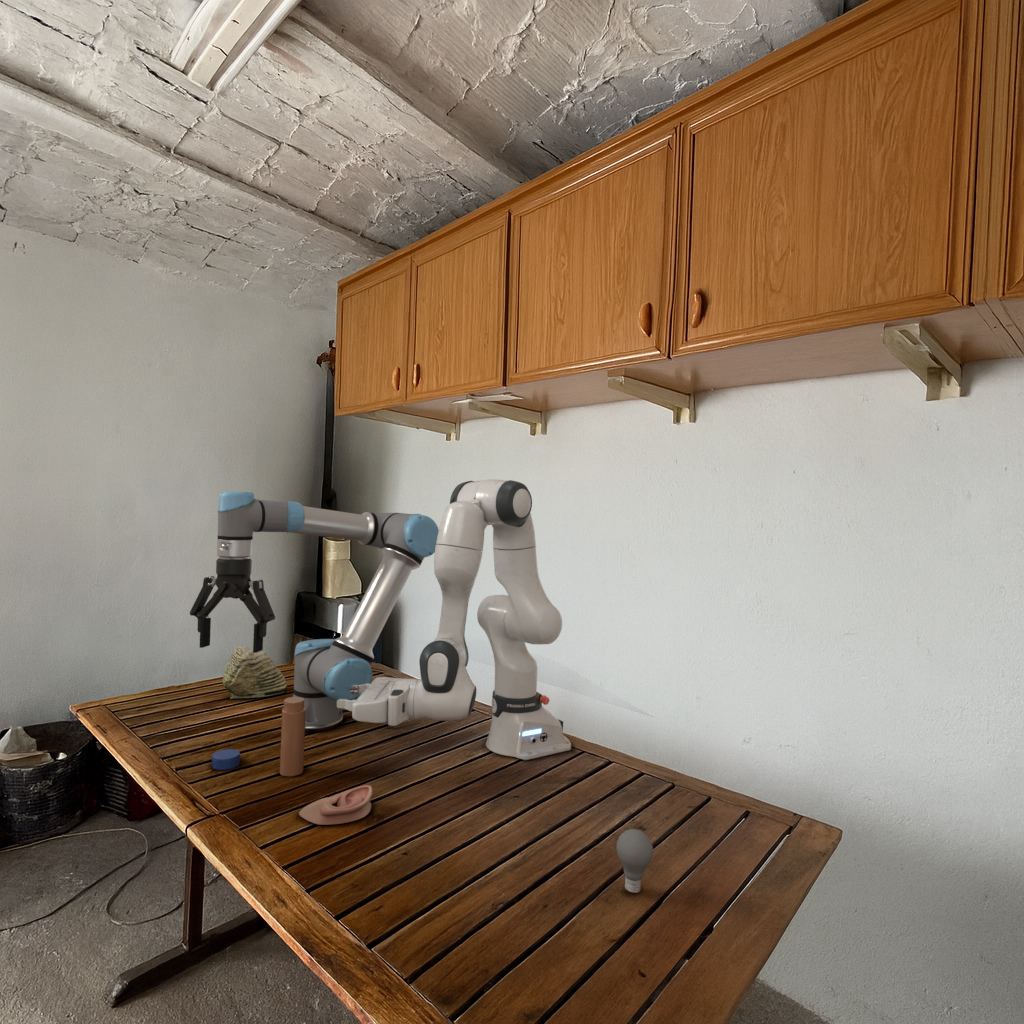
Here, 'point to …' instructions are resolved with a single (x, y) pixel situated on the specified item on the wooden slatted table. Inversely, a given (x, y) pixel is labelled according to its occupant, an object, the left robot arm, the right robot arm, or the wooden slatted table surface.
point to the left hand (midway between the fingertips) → (231, 649)
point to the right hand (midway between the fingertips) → (344, 696)
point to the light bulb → (634, 857)
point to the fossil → (252, 675)
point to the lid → (225, 759)
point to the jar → (292, 737)
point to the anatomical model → (339, 807)
